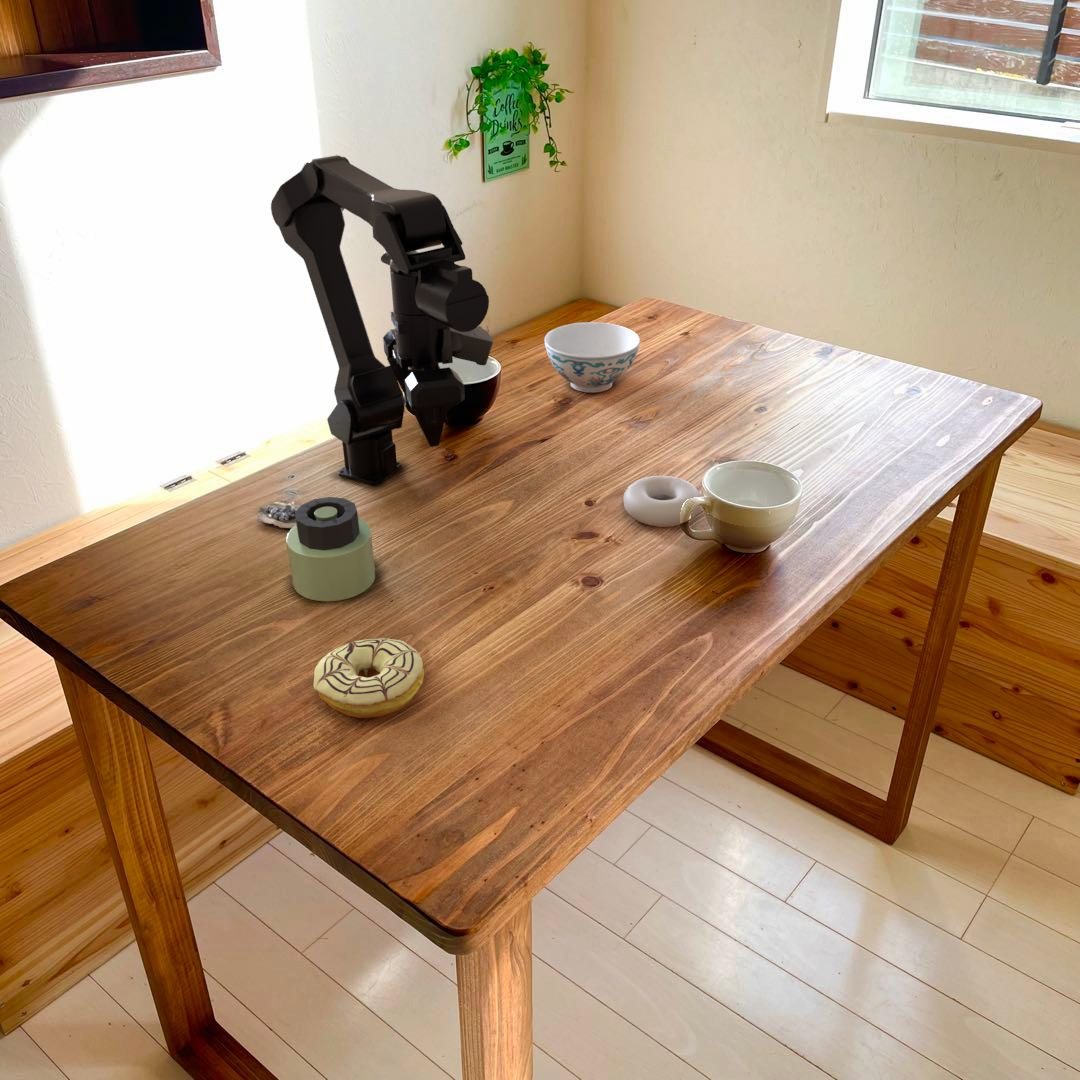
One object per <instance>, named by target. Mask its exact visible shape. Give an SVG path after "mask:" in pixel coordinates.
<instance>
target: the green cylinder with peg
mask: <svg viewBox="0 0 1080 1080" xmlns="http://www.w3.org/2000/svg"><path fill="white" fill-rule="evenodd" d="M314 515H315V518H316V521H323V522H325V521H331V520H335V519H337V515H338V511H337V509H336V508H334V507H321V508H319V509H317V510H316V511H315V512H314ZM358 522H359V531H360V533H359V535H358V536H357V538H356V539H355V540H354V542H352V543H350V544H348V545H346V546H343V547H341V548H336V549H329V550H317V549H310V548H308V547H306V546H305V545H303V544H301V543H300V541H299V537H298V531H297V525H296V526H294V527H293V528H292V529H291V528H290V530H289V531H288V532H287V535H286V539H285V541H286V549H287V555H288V563H289V568H290V575H291V582H292V587H293V590H295V592H296V593H297V594H299V595H300V596H301V597H303V598H306V599H308V600H311V601H316V602H338V601H344V600H347V599H351V598H354V597H356V596H358V595H361V594H362V593H364V592H366V591H367V590H368V589H369V588H370V587H371V586H372V585H373V584H374V581H375V580H376V565H375V556H374V555H375V554H374V546H373V537H372V528H371V526H370V525H369V524H368V522H366V521H365V520H364V519H361V518H360V517H358Z"/></svg>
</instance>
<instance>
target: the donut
mask: <svg viewBox="0 0 1080 1080" xmlns="http://www.w3.org/2000/svg"><path fill="white" fill-rule="evenodd" d="M694 497H701V494H700V491H699V490H698V489H697V487H695V486H694V485H693V484H692V483H690V482H689V481H688V480H685V479H683V478H679V477H676V476H670V475H650V476H645V477H642V478H639V479H636V480H635V481H634V482H632V483H631V484H630V485H628V487H627V488H626V490H625V491H624V493H623V499H622V500H623V507H624V509H625V511H626V512H627V514H628V515H629V516H630V517H631V518H633V519H634V520H636V521H637V522H638V523H641V524H645V525H647V526H653V527H658V528H659V527H662V528H663V527H665V528H667V527H669V528H670V527H676V526H681V525H680V512H681V508H682V505H683V503H684V502H685V501H686V500H687V499H690V498H694ZM701 508H702V505H701V506H698V507H696V508H695V509H694V510H693V511H692V513H691V519H690V521H691V520H692V519H694V518H695V517H697V515H698V514H699V512H700V510H701Z"/></svg>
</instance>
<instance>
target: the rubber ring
mask: <svg viewBox="0 0 1080 1080" xmlns="http://www.w3.org/2000/svg"><path fill="white" fill-rule="evenodd" d="M300 505H301V506H299V508H298V510H297V511H296V512H295V517H296V524H297V531H298V537H299V541H300V543H301V544H303V545H305V546H306V547H308V548H310V549H317V550H329V549H336V548H341V547H343V546H346V545H348V544H350V543H352V542H354V540H355V539H356V538H357V536H358V535H359V533H360V531H359V522H358V518H359V514H358V508H357V506H356V503H355V502H353V501H350V500H348V499H347V498H345V497H336V496H327V497H319V498H313V499H311V500H309V501H307V502H305V503H302V504H300ZM321 507H334V508H336V509H337V511H338V515H337V519H335V520H331V521H325V522H323V521H316V518H315V515H314V512H315V511H316V510H317V509H319V508H321Z"/></svg>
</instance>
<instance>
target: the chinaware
mask: <svg viewBox="0 0 1080 1080" xmlns="http://www.w3.org/2000/svg"><path fill="white" fill-rule="evenodd" d="M543 342H544V347H545V350H546V353H547V357H548V359H549V361H550V363H551V365H552V367H553V368H554V370H555V371H556V372H557V373H558V374H559V375H560V376H561V377H562V378H564V379H565V380H566V381H568V382H569V384H570V386H571V388H573V389H574V390H576V391H579V392H582V393H601V392H605V391H607V390H609V389H611V388H612V387H613V383H614V382H616V381H617V380H619V379H621V378H622V377H623V376H624V375H625V374H626V373H627V372H628V370H629V369H630V368H631V367H632V365H633V364H634V361H635V359H636V357H637V354H638V352H639V348H640V343H641V339H640V336H639V334H638V333H637V332H635V331H634V330H632V329H630V328H628V327H625V326H622V325H618V324H615V323H608V322H598V321H586V322H585V321H584V322H574V323H569V324H564V325H561V326H558V327H555V328H553V329H551V330H550V331H548V332H547V333H546V335H544V340H543Z"/></svg>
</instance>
